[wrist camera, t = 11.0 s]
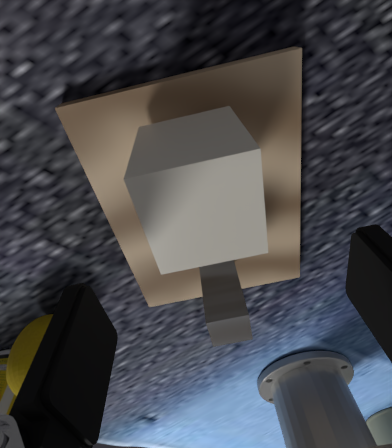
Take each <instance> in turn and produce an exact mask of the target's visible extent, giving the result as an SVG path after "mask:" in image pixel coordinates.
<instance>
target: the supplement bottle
mask: <svg viewBox="0 0 392 448" xmlns="http://www.w3.org/2000/svg"><path fill="white" fill-rule="evenodd" d="M10 351H11V349H7V350H2V351H0V415H6V414H8V415H9V413H10V411H11V409H12V406H13V404H14V401H15V399H16V397H17V396H16V395H15V394H14V393H13V392H12V391H11V389H10V388H9V386H8V383H7V380H6V367H7V361H8V357H9V354H10Z"/></svg>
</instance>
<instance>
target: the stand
mask: <svg viewBox="0 0 392 448" xmlns="http://www.w3.org/2000/svg"><path fill="white" fill-rule="evenodd" d="M301 101H302V48H300V47H290V48H286V49H282V50H278V51H273V52H269V53H265V54H261V55H257V56H253V57H249V58H245V59H241V60H237V61H233V62H229V63H224V64H220V65H216V66H212V67H208V68H204V69H200V70H196V71H192V72H188V73H184V74H180V75H175V76H171V77H167V78H163V79H159V80H155V81H151V82H147V83H143V84H139V85H135V86H131V87H126V88H122V89H118V90H114V91H110V92H106V93H102V94H98V95H94V96H90V97H86V98H82V99H77V100H73V101H69V102H65V103H61V104H60V105H59V106H57V107H56V108H55V110H56V112H57V114H58V116H59V118H60V120H61V122H62V124H63V126H64V129H65V131H66V133H67V135H68V137H69V139H70V141H71V143H72V145H73V148H74V150H75V152H76V154H77V156H78V158H79V160H80V162H81V164H82V166H83V169H84V171H85V173H86V175H87V177H88V179H89V181H90V183H91V185H92V187H93V190H94V192H95V194H96V196H97V198H98V200H99V202H100V204H101V206H102V209H103V211H104V213H105V215H106V217H107V219H108V221H109V223H110V225H111V227H112V230H113V232H114V234H115V236H116V238H117V240H118V242H119V244H120V246H121V248H122V251H123V253H124V255H125V257H126V259H127V261H128V263H129V265H130V267H131V270H132V272H133V274H134V276H135V278H136V280H137V282H138V284H139V286H140V288H141V291H142V293H143V295H144V297H145V299H146V301H147V303H148V305H149V307H153V306H158V305H163V304H168V303H173V302H178V301H183V300H188V299H193V298H198V297H203V303H204V311H205V319H206V325H207V328H208V331H209V334H210V338H211V341H212V344H213V347H215V346H220V345H225V344H230V343H236V342H241V341H246V340H252V332H251V326H250V319H249V314H248V310H247V307H246V303H245V299H244V296H243V292H242V289H243V288H248V287H253V286H258V285H263V284H268V283H273V282H278V281H283V280H288V279H293V278H298V277H300V200H301ZM226 106H230V107H231V109H232V110H233V111H234V113H235V114H236V115H237V117H238V118H239V120H240V121H241V122H242V124H243V125H244V126H245V128H246V129H247V131H248V132H249V133H250V135H251V136H252V137H253V139H254V140H255V142H256V143H257V144H258V146H259V147H260V148H261V161H262V174H263V188H264V201H265V215H266V228H267V241H268V253H265V254H261V255H256V256H251V257H246V258H241V259H236V260H231V261H226V262H221V263H216V264H212V265H207V266H202V267H197V268H192V269H187V270H182V271H177V272H172V273H168V274H163V275H161V273H160V271H159V268H158V266H157V263H156V261H155V258H154V255H153V253H152V250H151V248H150V245H149V243H148V240H147V238H146V235H145V233H144V230H143V227H142V225H141V222H140V220H139V217H138V215H137V212H136V210H135V207H134V205H133V202H132V200H131V197H130V194H129V192H128V189H127V187H126V184H125V182H124V176H125V173H126V169H127V166H128V162H129V159H130V155H131V152H132V149H133V145H134V142H135V138H136V135H137V131H138V128H139V127H141V126H145V125H149V124H154V123H158V122H162V121H166V120H171V119H175V118H179V117H184V116H188V115H192V114H196V113H201V112H205V111H209V110H213V109H218V108H222V107H226Z"/></svg>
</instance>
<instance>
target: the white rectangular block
mask: <svg viewBox="0 0 392 448" xmlns="http://www.w3.org/2000/svg"><path fill="white" fill-rule="evenodd" d="M124 182H125V184H126V187H127V189H128V192H129V194H130V197H131V200H132V202H133V205H134V207H135V210H136V212H137V215H138V217H139V220H140V222H141V225H142V227H143V230H144V233H145V235H146V238H147V240H148V243H149V245H150V248H151V250H152V253H153V255H154V258H155V261H156V263H157V266H158V268H159V271H160V273H161V275H163V274H168V273H172V272H177V271H182V270H187V269H192V268H197V267H202V266H207V265H212V264H216V263H221V262H226V261H231V260H236V259H241V258H246V257H251V256H256V255H261V254H265V253H268V241H267V228H266V215H265V201H264V188H263V174H262V161H261V148H260V147H259V146H258V144H257V143H256V142H255V140H254V139H253V137H252V136H251V135H250V133H249V132H248V131H247V129H246V128H245V126H244V125H243V124H242V122H241V121H240V120H239V118H238V117H237V115H236V114H235V113H234V111H233V110H232V109H231V107H230V106H226V107H222V108H218V109H213V110H209V111H205V112H201V113H196V114H192V115H188V116H184V117H179V118H175V119H171V120H166V121H162V122H158V123H154V124H149V125H145V126H141V127H139V128H138V131H137V135H136V138H135V142H134V145H133V149H132V152H131V155H130V159H129V162H128V166H127V169H126V173H125V176H124Z"/></svg>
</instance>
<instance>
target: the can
mask: <svg viewBox="0 0 392 448" xmlns="http://www.w3.org/2000/svg"><path fill="white" fill-rule="evenodd" d="M366 424H367V426H368V428H369V430H370V432H371V434H372V436H373V438H374V440H375V442H376V444H377V446H378V445H385V444H392V407H391V408H387V409H384V410H381V411H379V412H377V413H375V414H373V415H372V416H370V417H369V418H368V419H367V421H366Z"/></svg>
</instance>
